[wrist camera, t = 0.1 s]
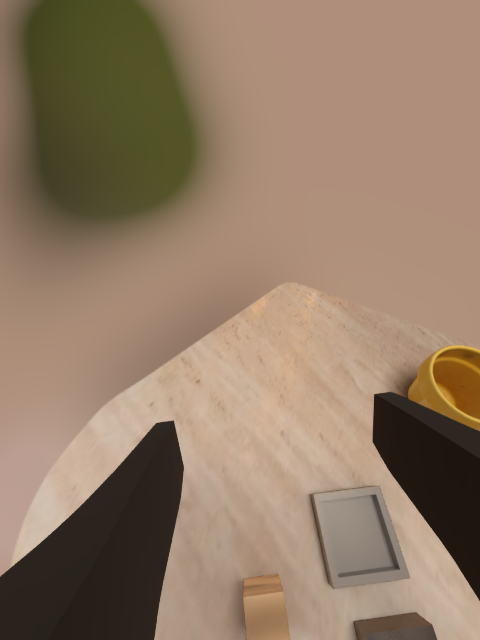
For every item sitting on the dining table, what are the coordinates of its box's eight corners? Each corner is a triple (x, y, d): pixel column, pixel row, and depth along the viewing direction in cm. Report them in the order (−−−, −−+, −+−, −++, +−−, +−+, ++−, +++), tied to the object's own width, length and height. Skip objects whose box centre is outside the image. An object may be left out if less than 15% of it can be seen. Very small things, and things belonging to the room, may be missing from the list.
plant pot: (430, 451, 37) (482, 442, 29) (380, 386, 42) (412, 362, 34) (483, 419, 39) (545, 401, 31) (429, 361, 44) (470, 332, 36)
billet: (284, 623, 28) (292, 653, 23) (248, 628, 28) (248, 660, 23) (278, 574, 31) (283, 591, 26) (244, 578, 30) (243, 597, 25)
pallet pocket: (401, 573, 30) (410, 578, 29) (328, 583, 30) (333, 588, 28) (373, 486, 35) (379, 486, 33) (310, 493, 35) (313, 494, 33)
